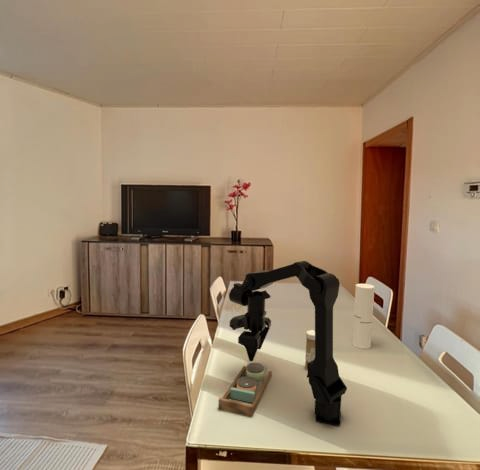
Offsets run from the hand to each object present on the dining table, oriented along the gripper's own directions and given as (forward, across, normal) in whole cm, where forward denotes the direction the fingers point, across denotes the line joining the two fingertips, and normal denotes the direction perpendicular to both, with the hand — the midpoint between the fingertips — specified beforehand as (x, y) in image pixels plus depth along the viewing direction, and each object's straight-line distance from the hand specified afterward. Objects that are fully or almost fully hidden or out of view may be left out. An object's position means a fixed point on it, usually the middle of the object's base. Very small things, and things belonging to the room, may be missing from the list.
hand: (255, 354), depth 117 cm
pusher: (+8, +14, 0) cm, 16 cm away
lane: (+8, +9, 0) cm, 12 cm away
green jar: (+8, 0, 0) cm, 8 cm away
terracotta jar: (+8, +10, 0) cm, 13 cm away
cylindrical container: (+8, -40, +34) cm, 53 cm away
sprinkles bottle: (+8, -13, +17) cm, 23 cm away
